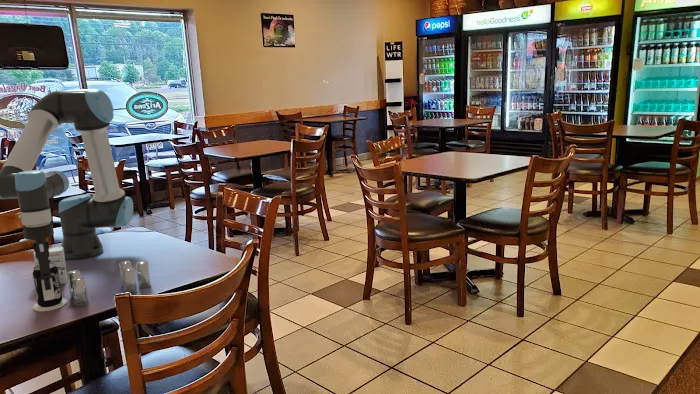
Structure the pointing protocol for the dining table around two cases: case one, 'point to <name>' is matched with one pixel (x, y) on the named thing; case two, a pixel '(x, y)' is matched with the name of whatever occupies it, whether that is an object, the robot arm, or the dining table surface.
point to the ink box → (57, 262)
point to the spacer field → (127, 280)
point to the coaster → (42, 309)
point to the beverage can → (55, 285)
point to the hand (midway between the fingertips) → (48, 292)
